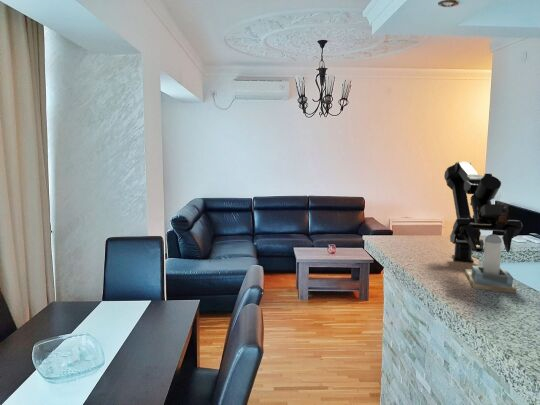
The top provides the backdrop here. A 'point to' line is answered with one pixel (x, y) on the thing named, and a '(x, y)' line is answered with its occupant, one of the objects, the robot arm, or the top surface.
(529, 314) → the top surface
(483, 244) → the build plate
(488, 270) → the cylinder
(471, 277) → the jig
